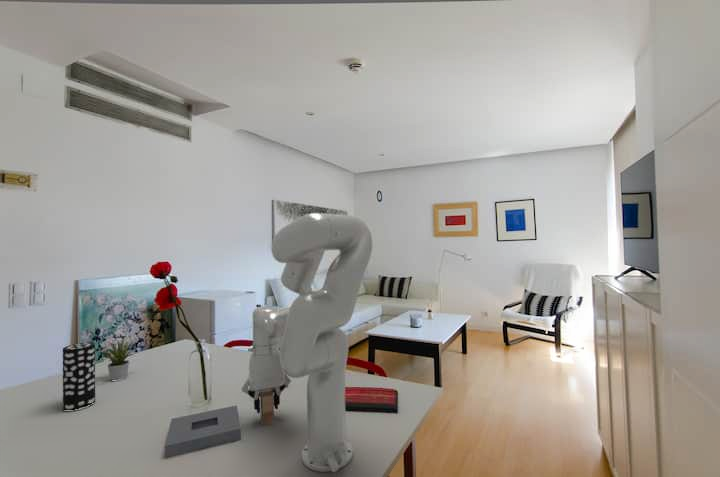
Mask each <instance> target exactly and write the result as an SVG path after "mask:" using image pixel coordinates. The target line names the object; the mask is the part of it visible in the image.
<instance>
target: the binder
mask: <svg viewBox="0 0 720 477" xmlns="http://www.w3.org/2000/svg"><path fill="white" fill-rule="evenodd" d="M398 395H399V394H398V390H397V389H396V388H395V389H394V388H387V387H386V388H383V387H368V386H366V387H364V386H363V387H361V386H345V404H346V412H354V413H382V414H398V401H399V400H398Z"/></svg>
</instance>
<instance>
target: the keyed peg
mask: <svg viewBox="0 0 720 477" xmlns="http://www.w3.org/2000/svg"><path fill="white" fill-rule="evenodd" d="M259 399H260V420H261V423H262V426H266V425H272V424H274V423H275V407H274V393H272V390H271V389H268V390H263V391H260V396H259Z"/></svg>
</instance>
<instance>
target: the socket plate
mask: <svg viewBox="0 0 720 477" xmlns="http://www.w3.org/2000/svg"><path fill="white" fill-rule="evenodd" d="M239 416H240V415H239V410H238V405H237V404H236V405H233V406H227V407H223V408H218V409H213V410H207V411H204V412H203V411H202V412H198V413H193V414H188V415H185V416H179V417H174V418H171V419H170V423H169V426H168V427H169V428H168V431H167V436H166V439H165V444H164V459H168V458H172V457H175V456H180V455H183V454H189V453H191V452H197V451H200V450H204V449H208V448H212V447H216V446H220V445H224V444H228V443H232V442H237V441H240V440H241V439H242V438H241V433H242V430H241V422H240V417H239Z"/></svg>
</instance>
